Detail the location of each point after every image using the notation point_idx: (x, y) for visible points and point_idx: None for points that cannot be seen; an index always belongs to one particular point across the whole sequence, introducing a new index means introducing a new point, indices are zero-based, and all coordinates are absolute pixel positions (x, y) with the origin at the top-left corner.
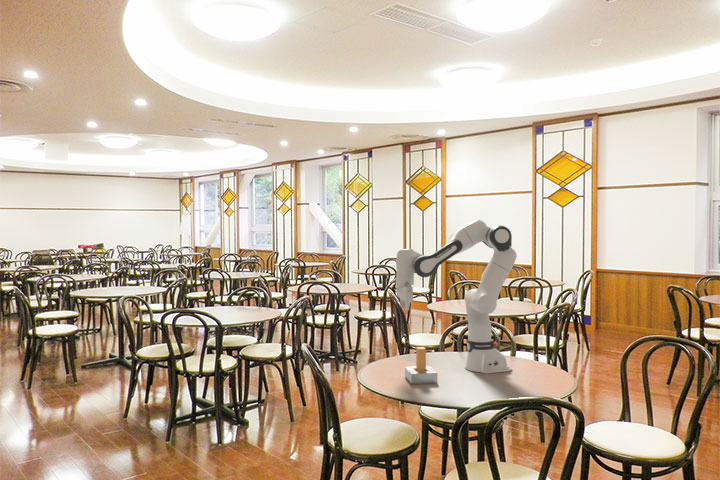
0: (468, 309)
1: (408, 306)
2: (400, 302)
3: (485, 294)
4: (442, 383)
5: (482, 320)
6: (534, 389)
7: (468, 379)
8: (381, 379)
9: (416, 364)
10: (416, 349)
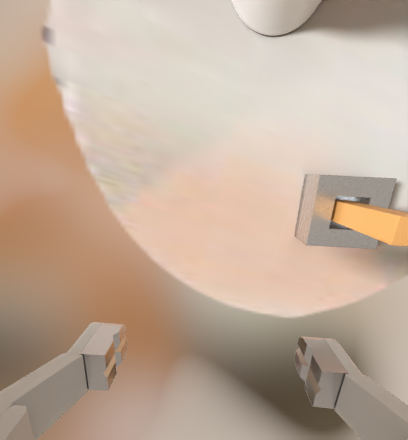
0: None
1: (374, 393)
2: (59, 408)
3: None
4: (371, 163)
5: None
6: None
7: (369, 74)
8: (291, 286)
9: (347, 226)
10: (386, 242)
